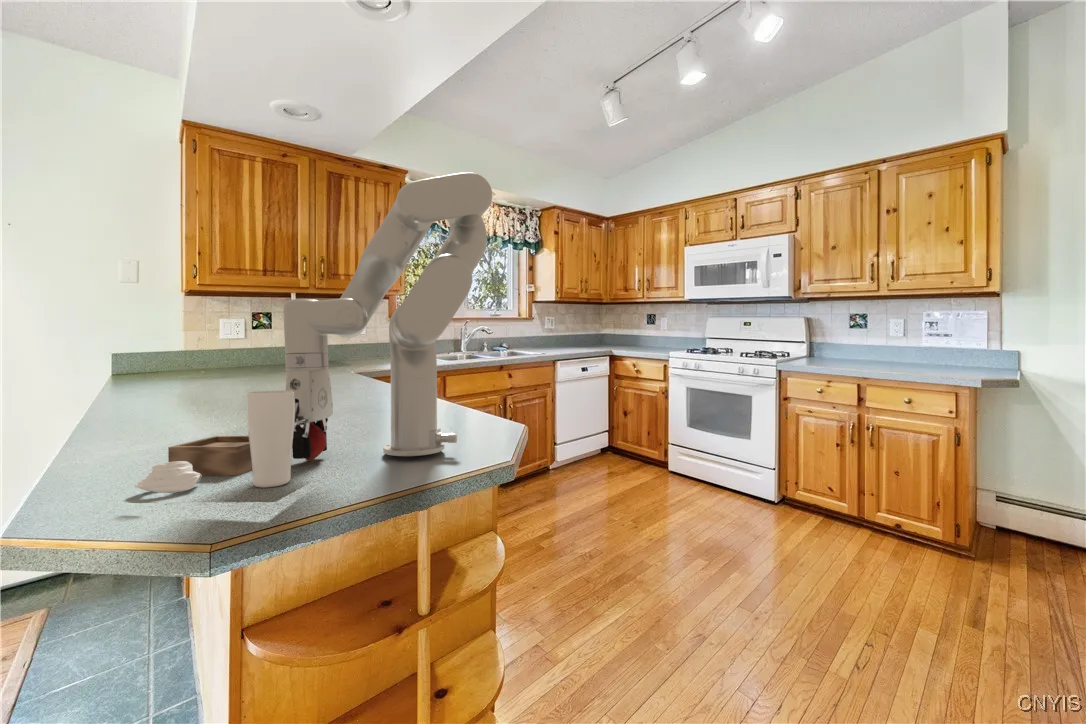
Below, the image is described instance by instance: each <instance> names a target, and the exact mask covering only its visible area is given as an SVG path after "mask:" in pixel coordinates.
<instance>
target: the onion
mask: <svg viewBox="0 0 1086 724" xmlns="http://www.w3.org/2000/svg"><path fill="white" fill-rule="evenodd" d="M301 427H302V429H303V426H301ZM308 437H310V444H311V457H310V458H307V459H305V460H306V461H308V462H312V461H313V460H315V459H316V458H318V457H319V456H320V455H321V454H322V453H323V452H324V451H323V450H324V449H325V447H326V443H327V440H328V439H326V437H327V435H326V436H325V433H324V432H323V431H322V430H321V429H320V428H319V427H318V426H316V425H314V424H313V423H312V422H310V425H309V432H308ZM327 444H328V443H327Z"/></svg>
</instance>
